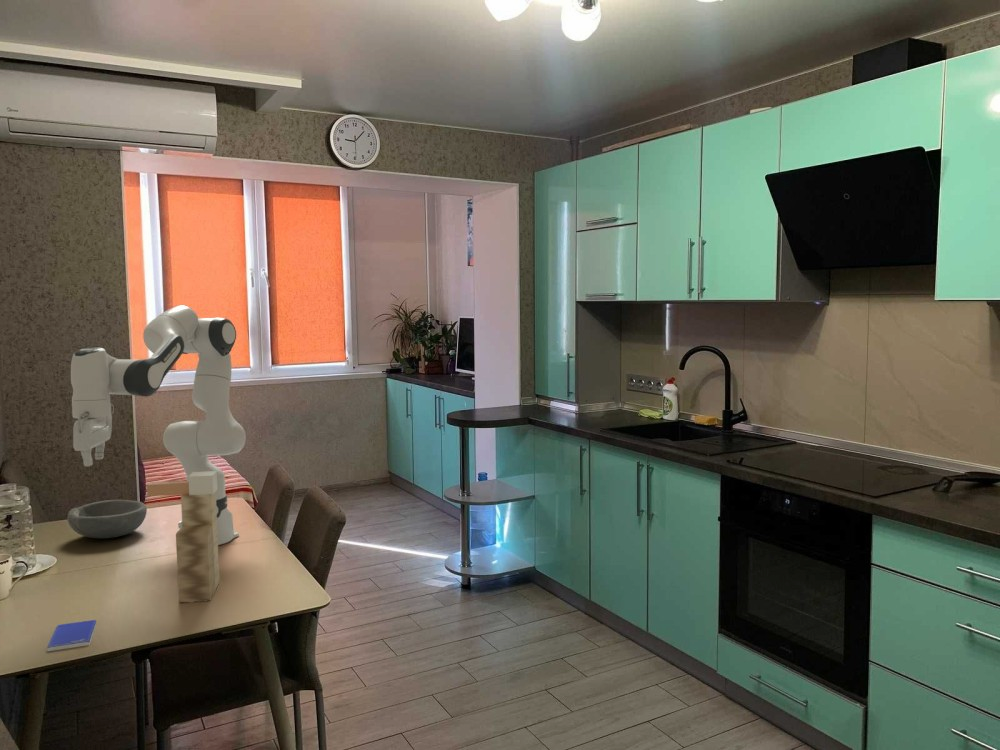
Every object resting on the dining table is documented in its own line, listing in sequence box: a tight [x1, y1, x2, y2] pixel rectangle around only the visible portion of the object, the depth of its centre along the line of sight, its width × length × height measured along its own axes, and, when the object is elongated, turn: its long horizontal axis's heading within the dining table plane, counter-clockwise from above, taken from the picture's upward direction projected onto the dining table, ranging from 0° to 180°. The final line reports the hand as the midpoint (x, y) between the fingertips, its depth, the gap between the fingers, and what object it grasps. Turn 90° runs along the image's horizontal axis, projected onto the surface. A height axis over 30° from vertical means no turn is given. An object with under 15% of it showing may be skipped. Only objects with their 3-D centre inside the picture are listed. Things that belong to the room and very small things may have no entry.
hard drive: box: [46, 619, 97, 652], centre depth 170 cm, size 2×8×12 cm
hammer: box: [146, 471, 217, 497], centre depth 196 cm, size 16×6×5 cm, turn 101°
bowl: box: [66, 499, 148, 539], centre depth 246 cm, size 23×22×10 cm
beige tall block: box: [175, 492, 220, 604], centre depth 195 cm, size 8×13×26 cm, turn 11°
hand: (93, 462), depth 196 cm, fingers open, 8 cm apart
